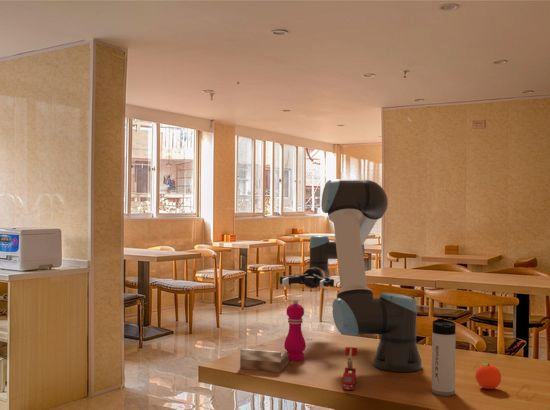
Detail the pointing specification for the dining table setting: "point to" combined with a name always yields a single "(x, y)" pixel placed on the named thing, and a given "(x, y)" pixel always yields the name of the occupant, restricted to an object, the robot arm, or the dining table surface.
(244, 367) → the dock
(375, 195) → the robot arm
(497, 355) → the dining table surface
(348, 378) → the toy fire truck
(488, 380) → the clementine
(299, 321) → the pepper mill
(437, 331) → the travel mug
